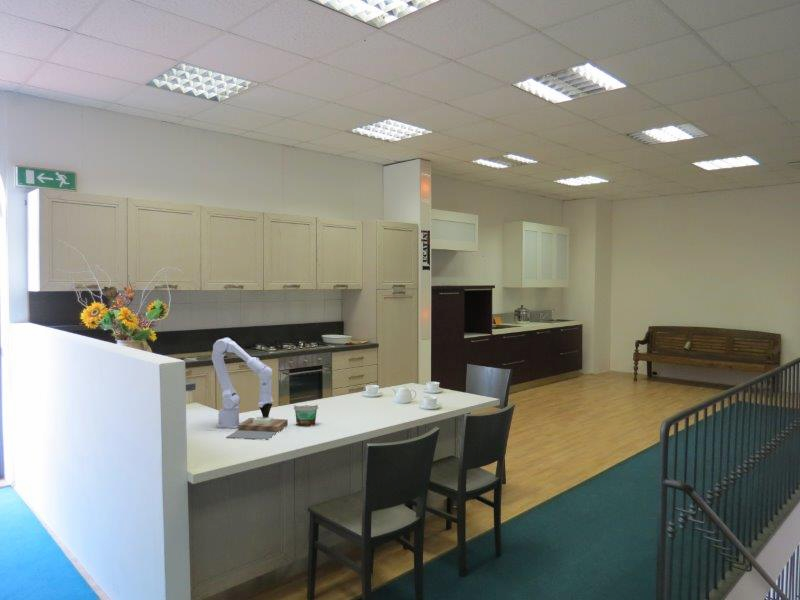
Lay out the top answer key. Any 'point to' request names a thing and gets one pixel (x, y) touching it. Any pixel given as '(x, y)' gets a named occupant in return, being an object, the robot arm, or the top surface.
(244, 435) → the mat
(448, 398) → the top surface
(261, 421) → the tile
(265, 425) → the board
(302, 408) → the food container
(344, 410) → the top surface
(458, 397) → the top surface
